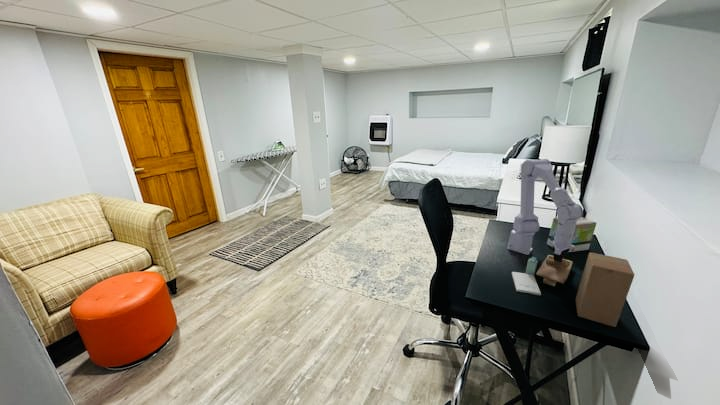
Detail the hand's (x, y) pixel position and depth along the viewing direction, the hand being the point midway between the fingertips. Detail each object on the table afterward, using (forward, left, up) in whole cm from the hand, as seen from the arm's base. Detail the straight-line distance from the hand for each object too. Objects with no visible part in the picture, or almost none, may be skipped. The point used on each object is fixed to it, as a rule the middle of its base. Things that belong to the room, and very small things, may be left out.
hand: (556, 262), depth 117 cm
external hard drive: (-7, -16, -6) cm, 18 cm away
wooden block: (+15, -18, -5) cm, 24 cm away
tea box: (0, +30, -5) cm, 31 cm away
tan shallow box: (0, -1, -5) cm, 5 cm away
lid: (0, -6, -1) cm, 7 cm away
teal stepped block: (-8, -6, -5) cm, 11 cm away
